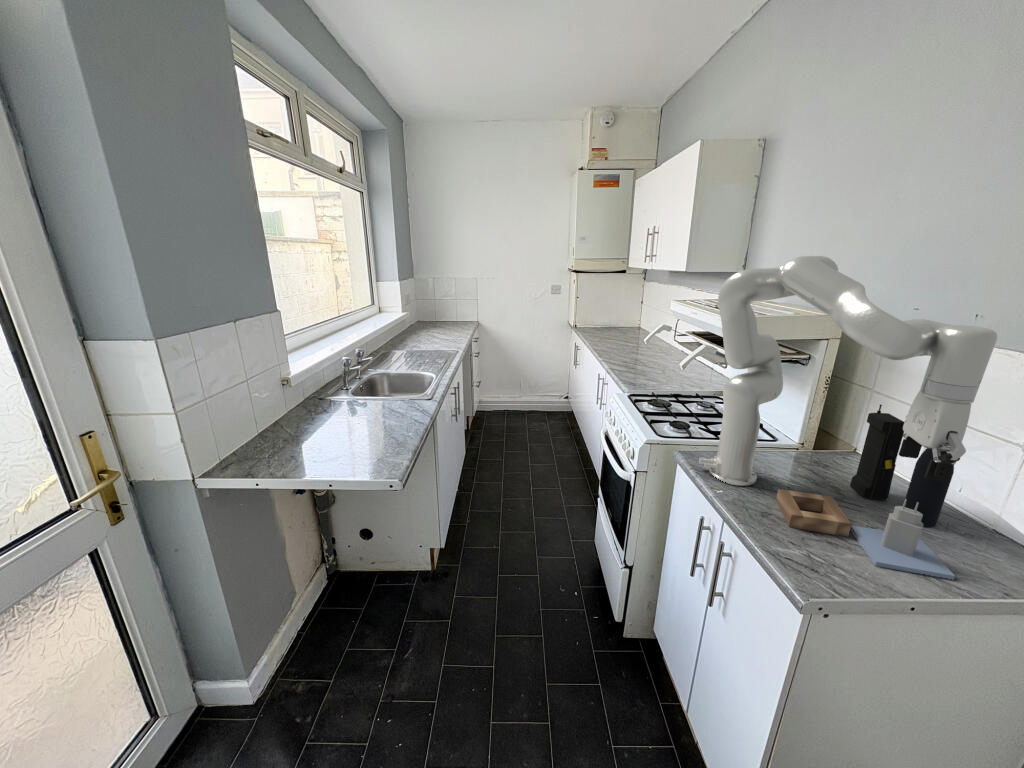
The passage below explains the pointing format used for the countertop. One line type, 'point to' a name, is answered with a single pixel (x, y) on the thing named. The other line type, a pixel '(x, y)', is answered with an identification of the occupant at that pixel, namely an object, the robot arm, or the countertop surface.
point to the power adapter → (903, 530)
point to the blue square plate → (900, 555)
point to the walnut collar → (825, 522)
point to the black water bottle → (927, 490)
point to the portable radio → (878, 456)
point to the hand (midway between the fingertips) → (920, 467)
